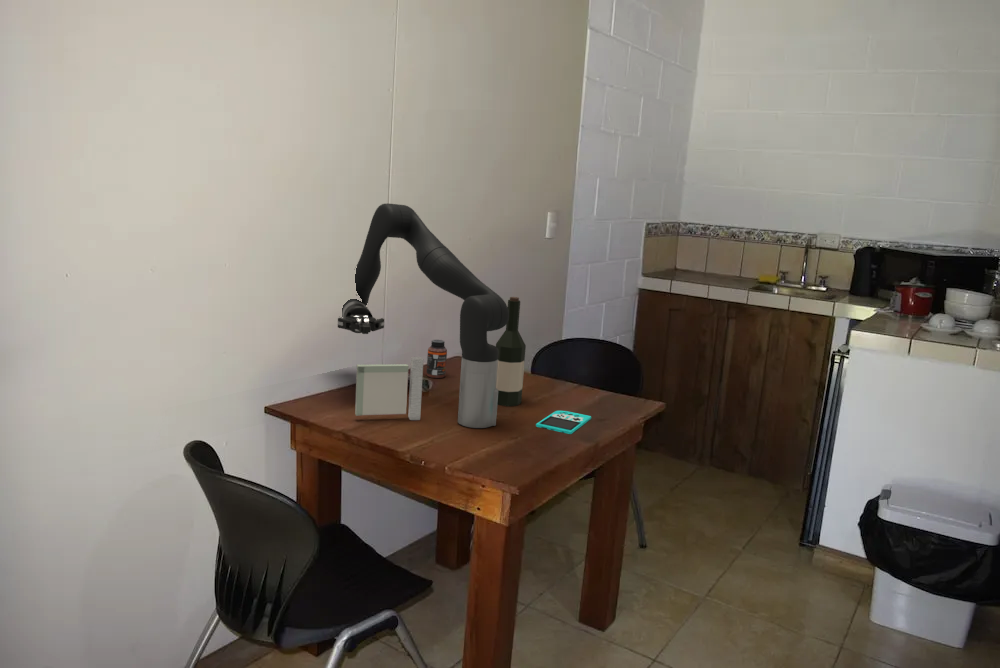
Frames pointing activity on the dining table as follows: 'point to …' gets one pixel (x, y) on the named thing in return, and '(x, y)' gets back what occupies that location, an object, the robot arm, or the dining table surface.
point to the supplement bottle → (436, 359)
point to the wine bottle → (511, 359)
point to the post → (415, 388)
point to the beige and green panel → (381, 389)
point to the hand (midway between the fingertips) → (365, 330)
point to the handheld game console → (563, 421)
